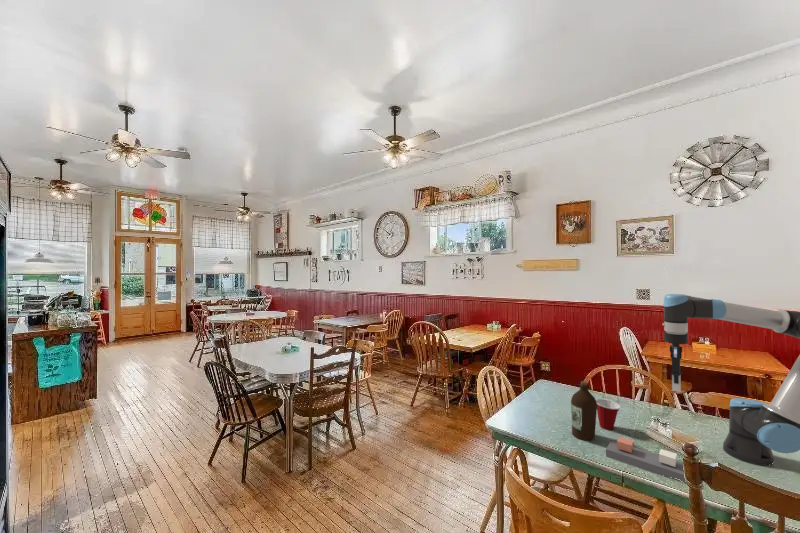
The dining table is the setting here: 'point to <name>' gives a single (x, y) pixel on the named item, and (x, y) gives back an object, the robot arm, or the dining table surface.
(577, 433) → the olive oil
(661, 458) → the white key
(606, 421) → the plastic cup
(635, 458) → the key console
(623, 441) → the salmon pink block
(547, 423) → the dining table surface
